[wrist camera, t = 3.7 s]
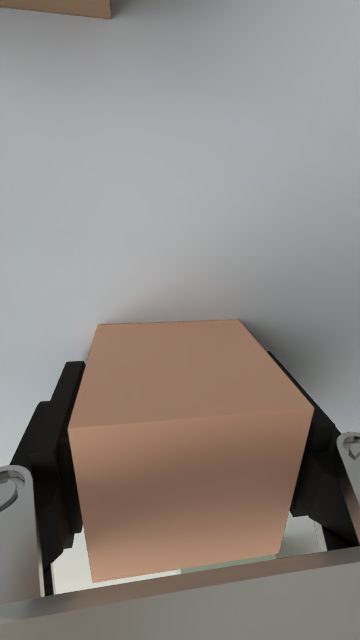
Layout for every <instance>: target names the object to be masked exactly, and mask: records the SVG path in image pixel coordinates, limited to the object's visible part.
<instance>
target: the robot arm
mask: <svg viewBox="0 0 360 640" xmlns="http://www.w3.org/2000/svg"><path fill="white" fill-rule="evenodd" d="M266 352H267V353H268V354H269V356H270V357H271V358H272V359H273V360H274V361H275V363H276V364H277V365H278V366H279V367H280V368H281V370H282V371H283V372H284V373H285V374H286V375H287V377H288V378H289V379H290V380H291V381H292V382H293V384H294V385H295V386H296V387H297V388H298V389H299V391H300V392H301V393H302V394H303V395H304V396H305V398H306V399H307V400H308V401H309V402H310V403H311V405H312V406H313V407H314V412H313V416H312V420H311V424H310V428H309V432H308V436H307V440H306V444H305V448H304V452H303V457H302V461H301V465H300V469H299V473H298V477H297V481H296V485H295V489H294V493H293V497H292V501H291V506H290V512H291V514H292V516H293V517H299V516H306V515H308V516H309V518H311V519H312V520H314V526H315V531H316V535H317V540H318V544H319V549H320V552H318V553H312V554H305V555H299V556H292V557H286V558H280V559H273V560H267V561H260V562H254V563H248V564H241V565H235V566H229V567H222V568H216V569H210V570H204V571H197V572H191V573H185V574H178V575H172V576H166V577H160V578H154V579H148V580H142V581H135V582H129V583H123V584H117V585H111V586H105V587H99V588H93V589H87V590H81V591H74V592H68V593H62V594H56V590H55V581H54V572H53V563H52V562H54V561H55V560H56V559H57V558H58V557H59V556H60V555H61V554H62V553H63V549H67V548H72V545H73V540H74V534H75V533H81V531H82V526H83V520H82V514H81V508H80V502H79V496H78V490H77V483H76V477H75V471H74V465H73V459H72V453H71V446H70V440H69V434H68V426H69V422H70V419H71V415H72V412H73V408H74V405H75V401H76V398H77V395H78V391H79V388H80V384H81V381H82V377H83V374H84V370H85V367H86V365H85V363H84V361H74V362H66V364H65V367H64V369H63V371H62V374H61V376H60V379H59V381H58V383H57V386H56V388H55V391H54V393H53V395H52V398H51V400H50V401H42V402H40V403H39V404H38V405H37V407H36V409H35V412H34V414H33V416H32V418H31V420H30V422H29V424H28V426H27V429H26V431H25V433H24V435H23V437H22V439H21V441H20V443H19V446H18V448H17V450H16V452H15V454H14V456H13V458H12V461H11V463H10V465H7V466H3V467H0V640H360V433H357V432H347V433H342V434H341V433H340V432H339V431H338V429H337V428H336V427H335V424H334V423H333V422H332V421H331V420H330V419H329V417H328V416H327V415H326V414H325V413H324V412H323V411H322V410H321V408H320V407H319V406H318V405H317V404H316V403H315V402H314V401H313V399H312V398H311V397H310V396H309V395H308V394H307V393H306V391H305V390H304V389H303V388H302V387H301V386H300V385H299V384H298V382H297V381H296V380H295V379H294V378H293V377H292V376H291V375H290V373H289V372H288V371H287V370H286V369H285V368H284V367H283V365H282V364H281V363H280V362H279V361H278V360H277V359H276V358H275V356H274V355H273V354H272V353H271V352H270V351H266Z"/></svg>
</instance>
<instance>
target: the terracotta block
mask: <svg viewBox="0 0 360 640" xmlns="http://www.w3.org/2000/svg"><path fill="white" fill-rule="evenodd" d="M313 412H314V407H313V406H312V405H311V403H310V402H309V401H308V400H307V399H306V398H305V396H304V395H303V394H302V393H301V392H300V391H299V389H298V388H297V387H296V386H295V385H294V384H293V382H292V381H291V380H290V379H289V378H288V377H287V375H286V374H285V373H284V372H283V371H282V370H281V368H280V367H279V366H278V365H277V364H276V363H275V361H274V360H273V359H272V358H271V357H270V356H269V354H268V353H267V352H266V351H265V350H264V349H263V347H262V346H261V345H260V344H259V343H258V342H257V340H256V339H255V338H254V337H253V336H252V335H251V333H250V332H249V331H248V330H247V329H246V328H245V326H244V325H243V324H242V323H241V322H240V321H239V319H237V320H210V321H182V322H155V323H127V324H100V325H97V329H96V332H95V336H94V339H93V343H92V346H91V350H90V353H89V356H88V360H87V363H86V367H85V370H84V374H83V377H82V381H81V384H80V388H79V391H78V395H77V398H76V401H75V405H74V408H73V412H72V415H71V419H70V422H69V426H68V434H69V440H70V446H71V453H72V459H73V465H74V471H75V477H76V483H77V490H78V496H79V502H80V508H81V514H82V520H83V527H84V533H85V539H86V545H87V551H88V557H89V564H90V570H91V576H92V582H93V583H95V582H102V581H108V580H114V579H121V578H127V577H133V576H140V575H146V574H153V573H159V572H165V571H172V570H178V569H184V568H191V567H197V566H204V565H210V564H216V563H223V562H229V561H235V560H242V559H248V558H254V557H261V556H267V555H274V554H279V551H280V546H281V542H282V538H283V534H284V530H285V526H286V522H287V518H288V514H289V510H290V506H291V501H292V497H293V493H294V489H295V485H296V481H297V477H298V473H299V469H300V465H301V461H302V457H303V452H304V448H305V444H306V440H307V436H308V432H309V428H310V424H311V420H312V416H313Z"/></svg>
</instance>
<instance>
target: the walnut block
mask: <svg viewBox="0 0 360 640" xmlns="http://www.w3.org/2000/svg"><path fill="white" fill-rule="evenodd" d="M0 7H4V8H13V9H22V10H31V11H40V12H49V13H58V14H68V15H77V16H86V17H95V18H104V19H111V3H110V0H0Z"/></svg>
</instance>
